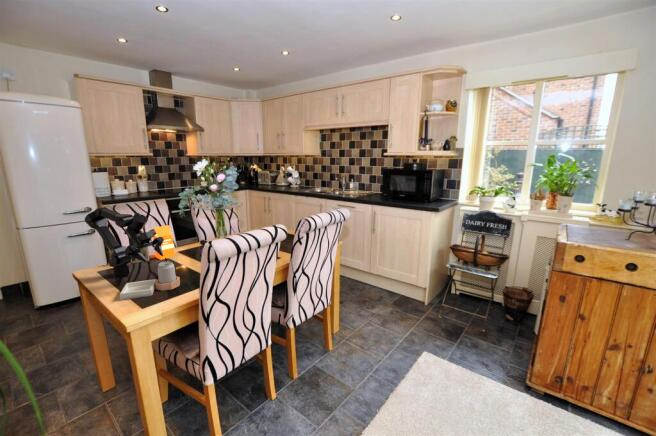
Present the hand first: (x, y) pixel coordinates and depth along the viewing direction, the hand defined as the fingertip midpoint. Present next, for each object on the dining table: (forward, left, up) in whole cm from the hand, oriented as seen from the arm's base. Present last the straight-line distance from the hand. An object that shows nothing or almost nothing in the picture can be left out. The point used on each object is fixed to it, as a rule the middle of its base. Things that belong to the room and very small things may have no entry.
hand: (154, 258), depth 153 cm
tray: (-7, -8, -13) cm, 17 cm away
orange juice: (-2, +44, -13) cm, 46 cm away
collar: (+5, -5, -13) cm, 15 cm away
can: (+5, -5, -13) cm, 15 cm away
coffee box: (-15, +41, -13) cm, 46 cm away
